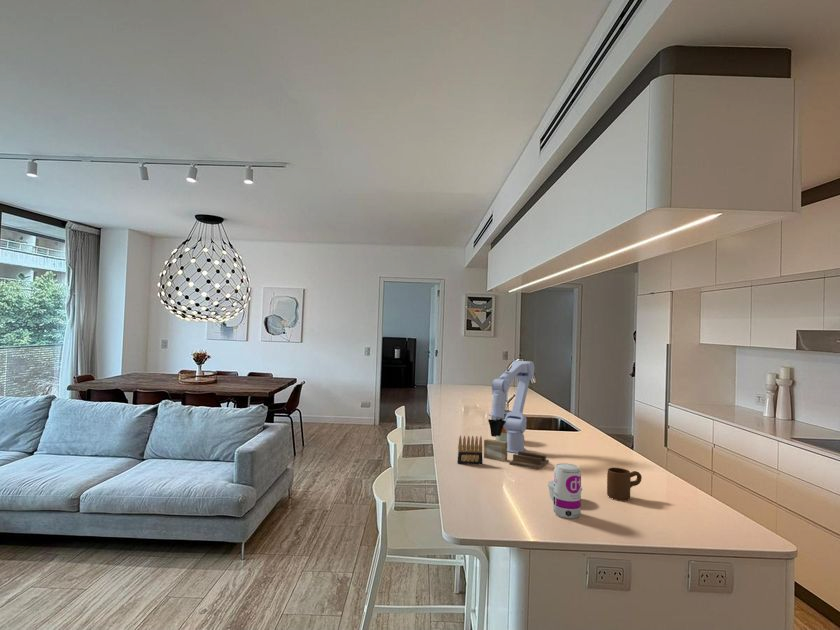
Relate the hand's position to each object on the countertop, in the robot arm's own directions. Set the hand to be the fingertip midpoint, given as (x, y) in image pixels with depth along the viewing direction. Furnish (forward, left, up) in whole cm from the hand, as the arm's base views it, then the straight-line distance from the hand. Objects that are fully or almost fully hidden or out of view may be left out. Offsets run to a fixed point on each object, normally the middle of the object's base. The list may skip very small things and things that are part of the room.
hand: (495, 436), depth 217 cm
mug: (+21, +57, -10) cm, 61 cm away
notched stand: (-2, +15, -10) cm, 18 cm away
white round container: (+36, +40, -11) cm, 54 cm away
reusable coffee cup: (-37, -10, -10) cm, 40 cm away
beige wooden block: (0, 0, -10) cm, 10 cm away
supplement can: (+49, +44, -10) cm, 66 cm away
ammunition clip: (+14, -6, -10) cm, 18 cm away
